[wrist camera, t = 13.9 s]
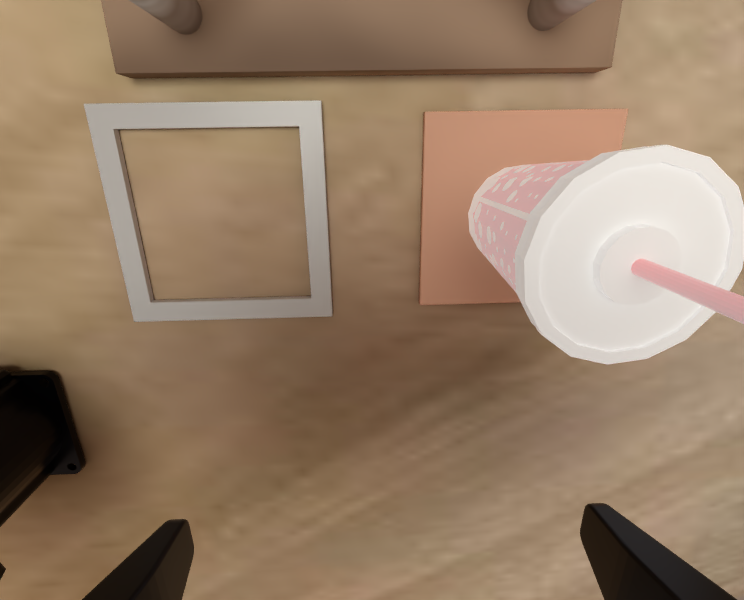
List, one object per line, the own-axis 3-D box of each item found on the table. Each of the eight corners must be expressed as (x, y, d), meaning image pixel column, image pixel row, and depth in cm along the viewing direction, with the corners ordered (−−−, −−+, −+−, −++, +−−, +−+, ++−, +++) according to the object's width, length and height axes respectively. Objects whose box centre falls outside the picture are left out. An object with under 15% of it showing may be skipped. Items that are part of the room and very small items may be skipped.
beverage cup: (534, 296, 21) (828, 538, 8) (429, 246, 20) (565, 430, 7) (605, 183, 19) (1138, 256, 6) (494, 122, 18) (849, 50, 5)
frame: (332, 313, 21) (332, 316, 21) (138, 318, 21) (134, 321, 21) (321, 101, 18) (320, 100, 18) (89, 104, 18) (83, 103, 17)
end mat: (589, 297, 22) (593, 300, 21) (418, 302, 21) (420, 304, 21) (622, 109, 19) (628, 108, 18) (423, 112, 18) (425, 111, 18)
